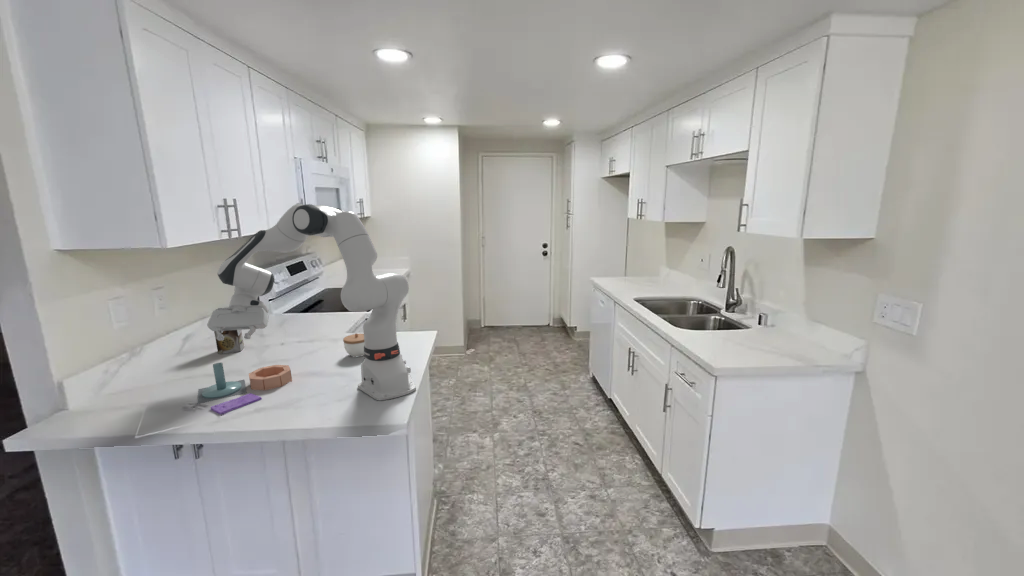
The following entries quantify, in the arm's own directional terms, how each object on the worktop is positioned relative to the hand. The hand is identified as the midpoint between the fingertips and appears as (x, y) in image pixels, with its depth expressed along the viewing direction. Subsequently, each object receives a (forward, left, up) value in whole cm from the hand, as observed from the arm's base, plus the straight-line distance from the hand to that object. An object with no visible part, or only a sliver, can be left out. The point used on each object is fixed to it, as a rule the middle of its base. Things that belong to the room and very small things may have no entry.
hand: (233, 339), depth 160 cm
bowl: (-13, -9, -15) cm, 22 cm away
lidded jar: (-2, -43, -16) cm, 46 cm away
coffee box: (+39, +2, -16) cm, 42 cm away
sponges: (-26, +2, -16) cm, 30 cm away
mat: (-11, +6, -15) cm, 20 cm away
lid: (-11, +6, -15) cm, 19 cm away
